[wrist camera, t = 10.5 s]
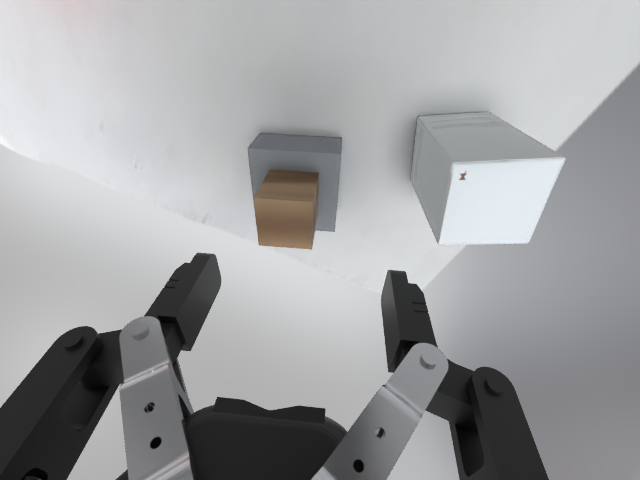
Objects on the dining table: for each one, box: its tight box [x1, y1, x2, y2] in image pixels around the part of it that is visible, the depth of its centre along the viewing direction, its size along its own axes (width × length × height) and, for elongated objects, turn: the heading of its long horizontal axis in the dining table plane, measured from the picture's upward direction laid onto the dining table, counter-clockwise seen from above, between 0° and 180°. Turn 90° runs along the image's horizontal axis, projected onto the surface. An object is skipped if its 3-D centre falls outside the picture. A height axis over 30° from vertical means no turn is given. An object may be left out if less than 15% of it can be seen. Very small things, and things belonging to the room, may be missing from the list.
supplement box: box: [410, 112, 565, 245], centre depth 26 cm, size 7×7×13 cm
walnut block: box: [254, 170, 319, 249], centre depth 28 cm, size 5×5×6 cm
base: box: [248, 133, 342, 232], centre depth 33 cm, size 9×9×5 cm
